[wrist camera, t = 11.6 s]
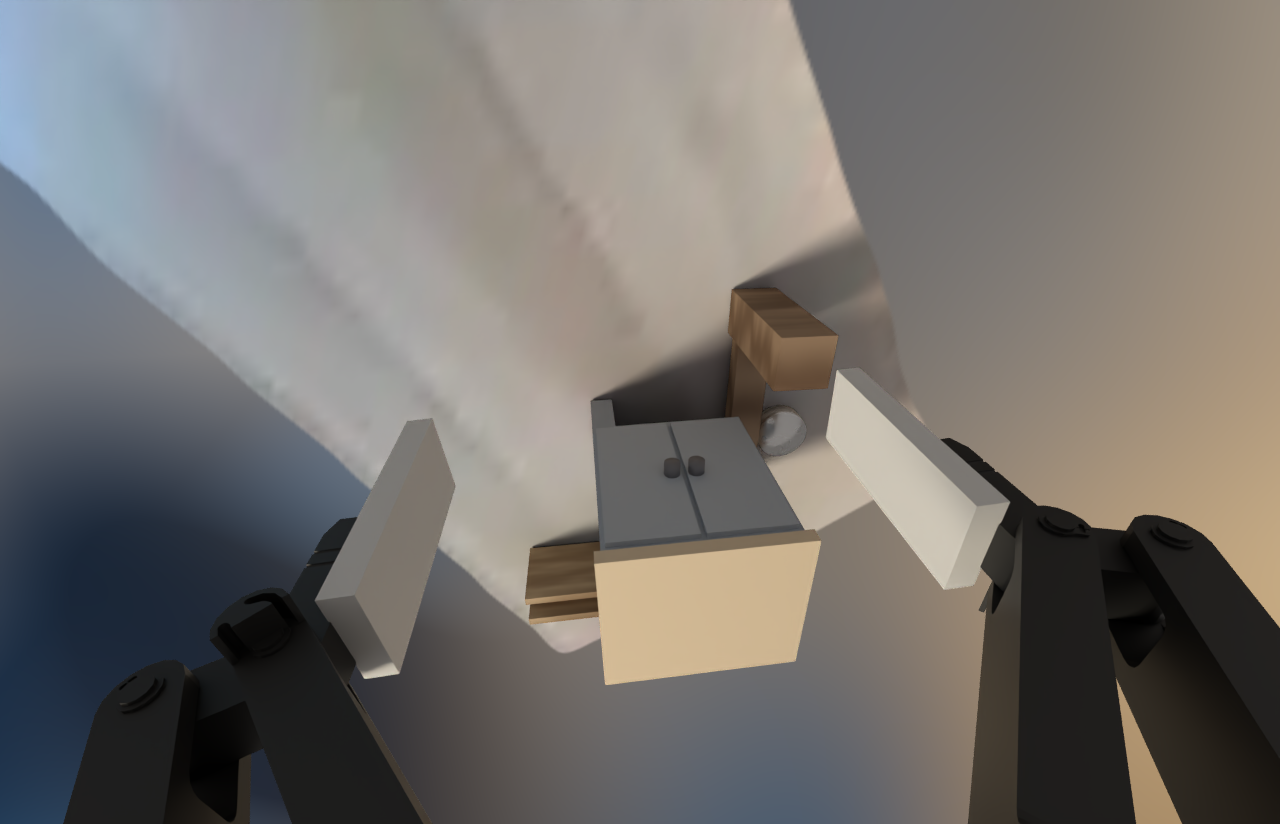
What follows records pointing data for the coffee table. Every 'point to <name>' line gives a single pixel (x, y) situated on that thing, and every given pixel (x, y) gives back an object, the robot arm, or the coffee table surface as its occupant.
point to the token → (781, 430)
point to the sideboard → (694, 550)
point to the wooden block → (773, 352)
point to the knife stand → (562, 583)
